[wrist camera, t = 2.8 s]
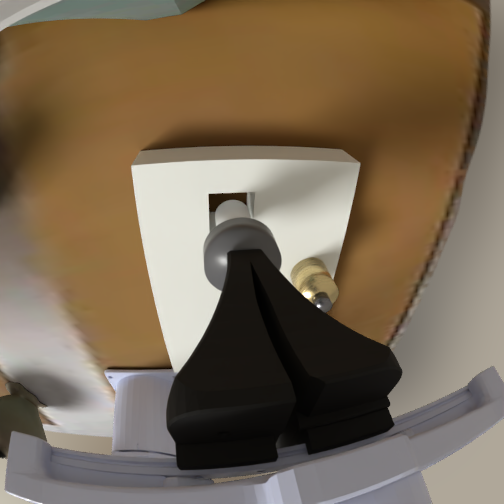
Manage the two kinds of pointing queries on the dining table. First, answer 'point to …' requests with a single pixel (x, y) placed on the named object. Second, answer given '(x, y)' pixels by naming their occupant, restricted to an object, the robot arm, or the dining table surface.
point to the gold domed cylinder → (315, 283)
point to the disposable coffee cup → (88, 10)
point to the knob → (235, 240)
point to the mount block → (260, 208)
